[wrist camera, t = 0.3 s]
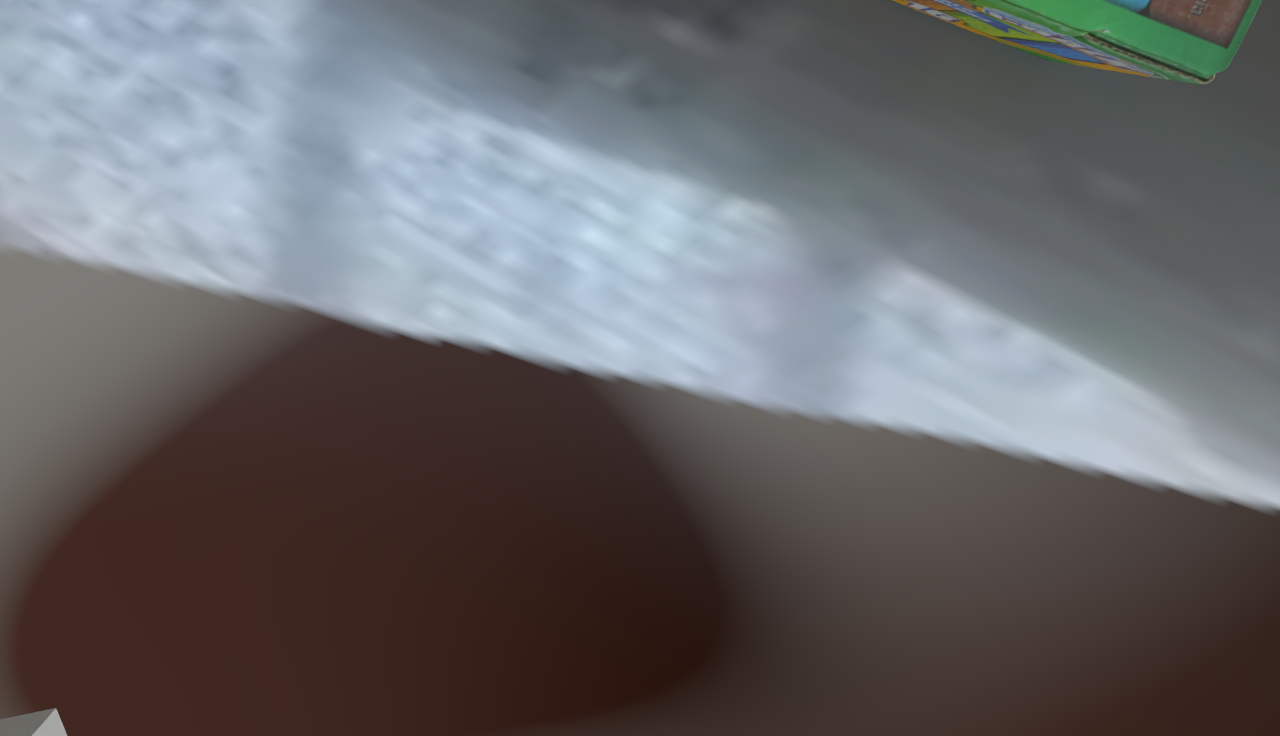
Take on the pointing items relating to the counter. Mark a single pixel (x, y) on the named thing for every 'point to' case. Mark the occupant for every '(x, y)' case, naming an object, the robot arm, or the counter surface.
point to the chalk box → (1111, 31)
